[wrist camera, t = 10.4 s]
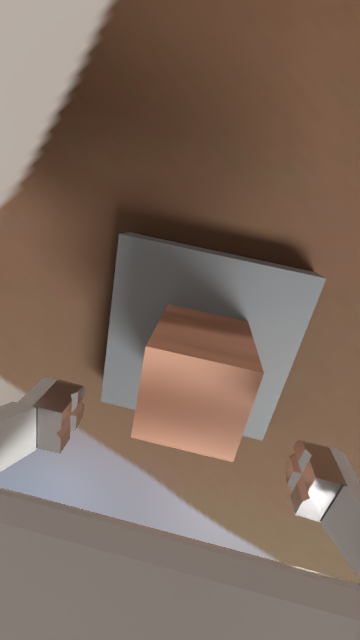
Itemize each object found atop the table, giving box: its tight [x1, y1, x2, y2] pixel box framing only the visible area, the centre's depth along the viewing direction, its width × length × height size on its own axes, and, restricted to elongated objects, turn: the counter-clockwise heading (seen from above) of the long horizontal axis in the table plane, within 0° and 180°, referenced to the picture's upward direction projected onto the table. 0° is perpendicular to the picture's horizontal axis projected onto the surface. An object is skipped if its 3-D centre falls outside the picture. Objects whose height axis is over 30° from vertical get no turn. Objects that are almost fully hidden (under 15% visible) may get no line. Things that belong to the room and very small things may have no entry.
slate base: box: [101, 232, 326, 440], centre depth 19 cm, size 12×12×2 cm
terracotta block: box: [131, 304, 264, 462], centre depth 15 cm, size 5×5×6 cm
